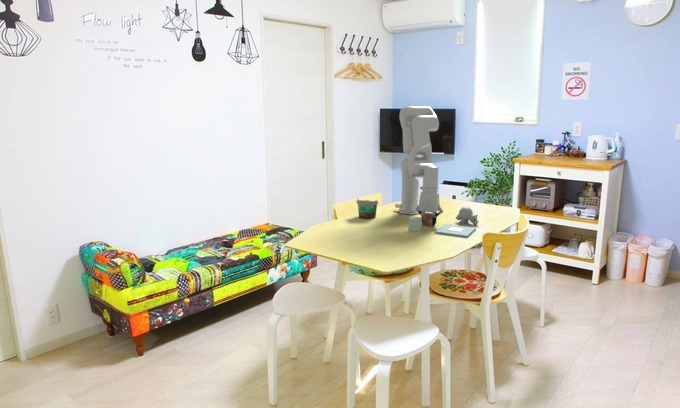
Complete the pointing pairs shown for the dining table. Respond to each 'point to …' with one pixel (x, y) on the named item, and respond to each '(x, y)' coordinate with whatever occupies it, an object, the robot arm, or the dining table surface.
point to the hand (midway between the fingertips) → (428, 223)
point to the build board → (455, 230)
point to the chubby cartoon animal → (467, 216)
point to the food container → (367, 209)
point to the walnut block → (427, 219)
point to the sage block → (415, 223)
